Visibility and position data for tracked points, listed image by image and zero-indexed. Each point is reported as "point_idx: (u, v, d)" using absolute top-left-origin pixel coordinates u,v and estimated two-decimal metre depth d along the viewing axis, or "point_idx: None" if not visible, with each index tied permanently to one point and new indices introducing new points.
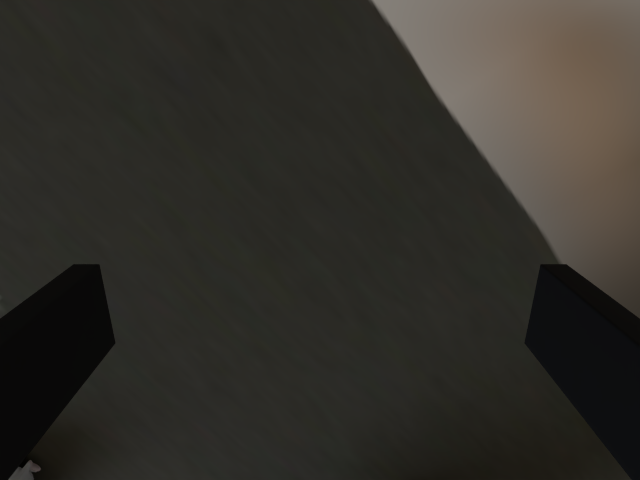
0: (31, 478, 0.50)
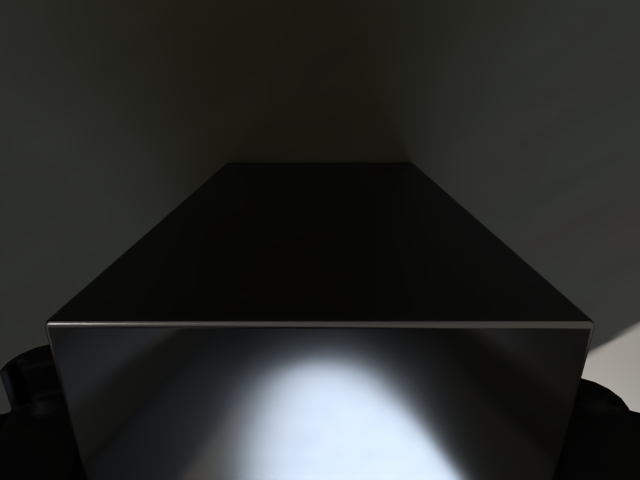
0: None
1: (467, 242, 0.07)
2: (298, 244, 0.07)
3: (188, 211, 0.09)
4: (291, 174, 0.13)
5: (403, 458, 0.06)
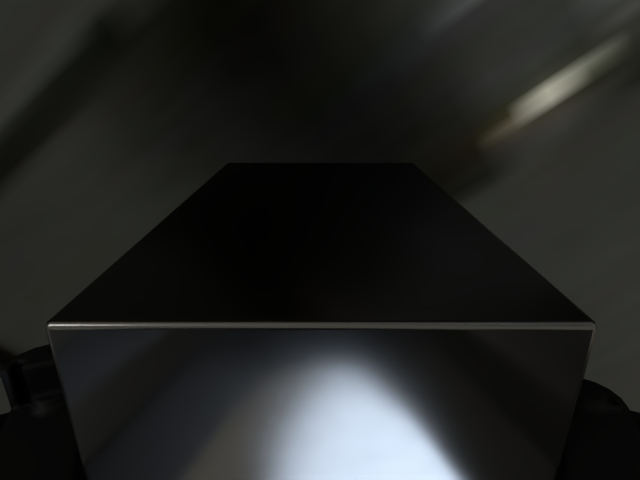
0: None
1: (468, 243, 0.07)
2: (298, 245, 0.07)
3: (189, 211, 0.09)
4: (292, 174, 0.13)
5: (404, 460, 0.06)
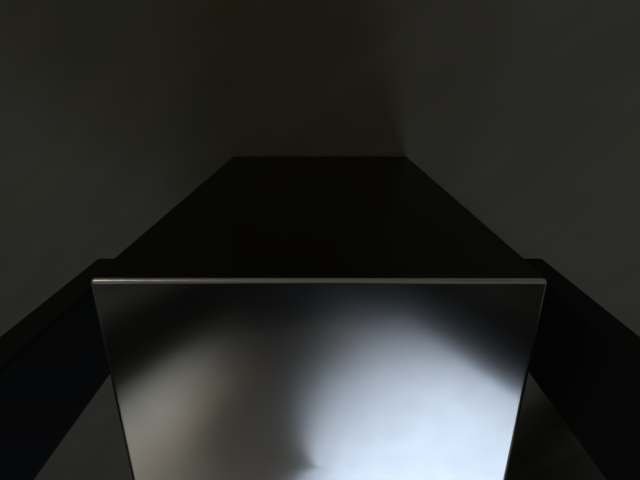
0: None
1: (449, 221, 0.08)
2: (300, 222, 0.08)
3: (201, 196, 0.10)
4: (293, 166, 0.14)
5: (389, 398, 0.07)
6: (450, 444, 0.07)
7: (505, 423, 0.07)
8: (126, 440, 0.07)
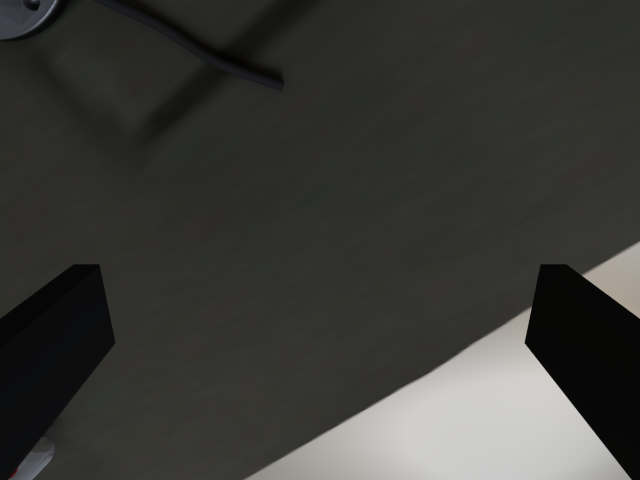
0: None
1: None
2: None
3: None
4: None
5: None
6: None
7: None
8: None
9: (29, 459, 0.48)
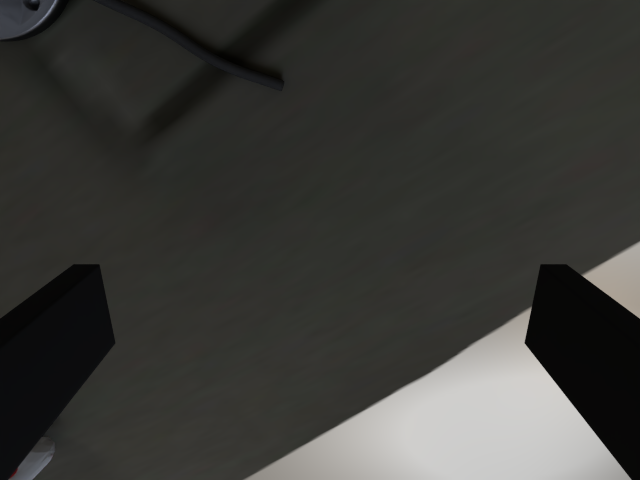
0: None
1: None
2: None
3: None
4: None
5: None
6: None
7: None
8: None
9: (29, 459, 0.48)
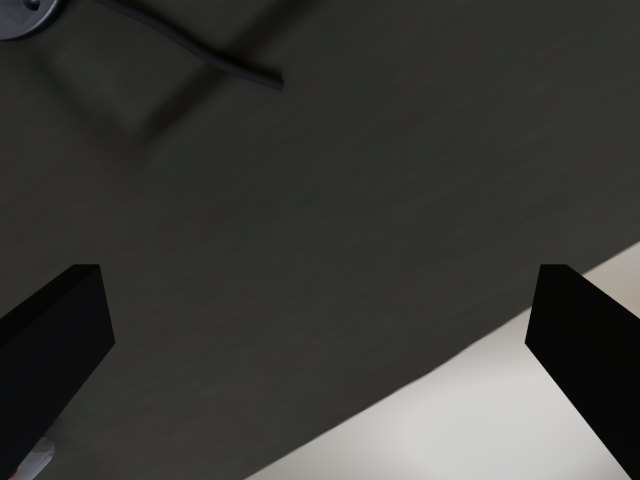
0: None
1: None
2: None
3: None
4: None
5: None
6: None
7: None
8: None
9: (29, 459, 0.48)
